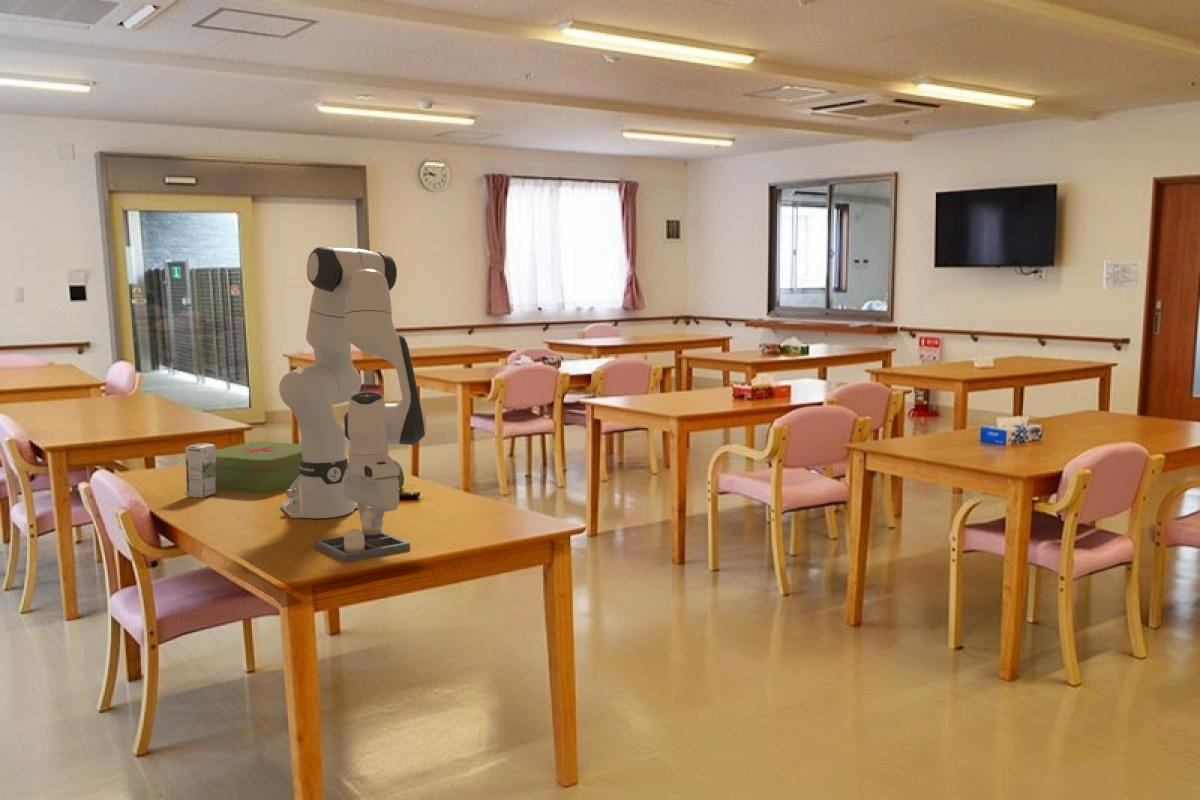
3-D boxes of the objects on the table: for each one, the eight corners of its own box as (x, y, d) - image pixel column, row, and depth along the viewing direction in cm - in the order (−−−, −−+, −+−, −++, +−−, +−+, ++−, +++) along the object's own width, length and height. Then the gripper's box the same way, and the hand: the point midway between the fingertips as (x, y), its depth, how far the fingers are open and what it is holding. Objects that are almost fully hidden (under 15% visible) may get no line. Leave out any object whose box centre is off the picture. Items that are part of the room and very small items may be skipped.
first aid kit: (269, 495, 286) (267, 460, 285) (196, 488, 295) (194, 454, 294) (325, 477, 310) (324, 446, 309) (256, 471, 320) (255, 440, 318)
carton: (314, 551, 227) (314, 540, 227) (377, 539, 237) (377, 529, 237) (345, 566, 216) (345, 555, 215) (410, 553, 225) (409, 543, 225)
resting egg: (340, 554, 222) (340, 528, 221) (359, 550, 224) (358, 525, 224) (349, 558, 218) (349, 532, 217) (368, 554, 221) (367, 529, 220)
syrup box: (201, 492, 288) (198, 442, 287) (218, 494, 287) (215, 443, 285) (186, 496, 283) (184, 446, 281) (203, 498, 281) (201, 447, 279)
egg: (358, 532, 231) (357, 508, 231) (376, 529, 234) (375, 505, 234) (367, 536, 228) (366, 511, 227) (385, 532, 231) (384, 508, 230)
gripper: (335, 460, 235) (338, 518, 237) (377, 472, 220) (380, 534, 221) (360, 456, 239) (362, 513, 241) (403, 468, 224) (405, 529, 225)
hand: (371, 523), depth 231 cm, fingers closed on egg, 4 cm apart
